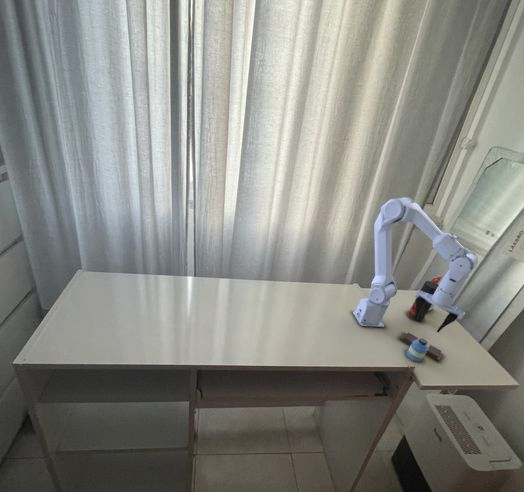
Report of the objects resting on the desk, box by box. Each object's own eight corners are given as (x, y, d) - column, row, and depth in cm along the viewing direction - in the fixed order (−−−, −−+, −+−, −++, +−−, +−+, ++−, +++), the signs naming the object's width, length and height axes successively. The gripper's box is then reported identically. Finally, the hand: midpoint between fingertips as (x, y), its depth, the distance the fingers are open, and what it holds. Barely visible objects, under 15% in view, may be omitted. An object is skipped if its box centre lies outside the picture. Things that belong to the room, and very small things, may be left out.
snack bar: (399, 339, 112) (401, 335, 111) (404, 334, 115) (406, 330, 114) (438, 361, 105) (440, 357, 104) (441, 355, 108) (444, 352, 107)
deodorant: (424, 323, 124) (443, 291, 115) (408, 319, 124) (426, 286, 116) (420, 314, 129) (438, 283, 120) (406, 310, 129) (423, 279, 121)
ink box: (432, 309, 134) (450, 280, 126) (422, 313, 130) (440, 283, 122) (424, 304, 136) (441, 275, 128) (414, 308, 132) (431, 278, 124)
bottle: (411, 361, 102) (421, 345, 99) (403, 350, 106) (412, 335, 103) (424, 361, 104) (434, 346, 100) (416, 351, 108) (425, 335, 104)
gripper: (475, 297, 96) (452, 331, 103) (428, 275, 103) (409, 309, 110) (470, 305, 91) (446, 340, 98) (421, 281, 98) (402, 316, 105)
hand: (426, 324), depth 104 cm, fingers open, 7 cm apart
